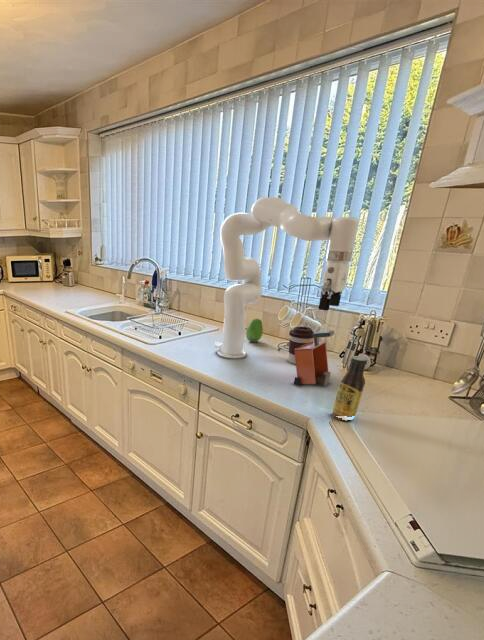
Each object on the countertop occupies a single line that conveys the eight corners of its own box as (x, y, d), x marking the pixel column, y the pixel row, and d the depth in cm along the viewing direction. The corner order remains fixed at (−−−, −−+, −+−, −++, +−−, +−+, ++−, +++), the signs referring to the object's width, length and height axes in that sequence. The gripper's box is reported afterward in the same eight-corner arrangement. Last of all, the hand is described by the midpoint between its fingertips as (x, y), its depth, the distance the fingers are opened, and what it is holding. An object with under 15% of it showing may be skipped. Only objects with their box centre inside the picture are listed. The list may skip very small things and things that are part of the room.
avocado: (262, 344, 195) (265, 320, 191) (245, 343, 197) (248, 319, 192) (260, 339, 202) (263, 316, 198) (244, 339, 204) (247, 316, 200)
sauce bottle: (327, 415, 124) (340, 355, 116) (341, 411, 126) (355, 352, 118) (345, 424, 118) (360, 362, 110) (360, 420, 120) (376, 359, 112)
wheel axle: (293, 384, 147) (294, 377, 146) (310, 373, 157) (312, 367, 156) (298, 386, 146) (300, 379, 145) (316, 374, 156) (317, 368, 155)
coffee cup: (286, 365, 167) (292, 330, 161) (283, 357, 176) (288, 325, 170) (312, 366, 164) (318, 331, 159) (307, 359, 173) (313, 326, 168)
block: (326, 375, 143) (323, 386, 145) (330, 372, 146) (328, 383, 148) (313, 372, 146) (311, 383, 148) (318, 369, 149) (315, 380, 151)
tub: (292, 337, 144) (324, 335, 136) (307, 330, 152) (338, 328, 144) (297, 383, 147) (329, 384, 139) (312, 374, 156) (342, 374, 147)
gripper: (341, 259, 124) (330, 313, 130) (359, 255, 135) (348, 305, 141) (316, 258, 129) (307, 310, 135) (336, 254, 140) (326, 302, 146)
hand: (328, 307), depth 138 cm, fingers open, 9 cm apart
